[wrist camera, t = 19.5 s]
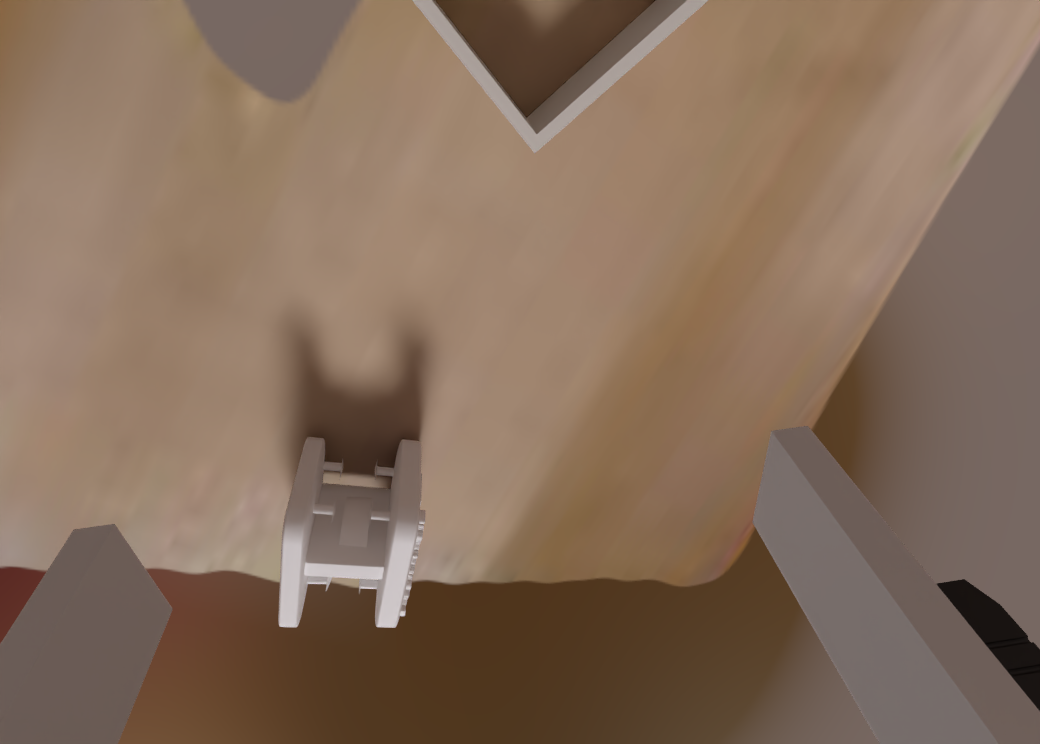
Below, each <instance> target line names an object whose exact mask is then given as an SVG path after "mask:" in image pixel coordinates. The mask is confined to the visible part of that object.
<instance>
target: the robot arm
mask: <svg viewBox="0 0 1040 744" xmlns="http://www.w3.org/2000/svg"><path fill="white" fill-rule="evenodd" d="M753 524H754V526H755V527H756V529H757V531H758V533H759V534H760V536H761V538H762V540H763V541H764V543H765V545H766V547H767V548H768V550H769V552H770V553H771V555H772V557H773V559H774V561H775V562H776V564H777V566H778V568H779V569H780V571H781V573H782V574H783V576H784V578H785V580H786V581H787V583H788V585H789V587H790V588H791V590H792V592H793V593H794V595H795V597H796V599H797V601H798V602H799V604H800V606H801V608H802V609H803V611H804V613H805V615H806V616H807V618H808V620H809V622H810V623H811V625H812V627H813V629H814V630H815V632H816V634H817V635H818V637H819V639H820V641H821V642H822V644H823V646H824V648H825V650H826V651H827V653H828V655H829V656H830V658H831V660H832V662H833V664H834V665H835V667H836V669H837V670H838V672H839V674H840V676H841V677H842V679H843V681H844V683H845V684H846V686H847V688H848V690H849V691H850V693H851V695H852V697H853V698H854V700H855V702H856V703H857V705H858V707H859V709H860V711H861V712H862V714H863V716H864V718H865V719H866V721H867V723H868V724H869V726H870V728H871V730H872V732H873V733H874V735H875V737H876V738H877V740H878V742H879V744H1040V649H1039V648H1038V647H1037V646H1036V645H1035V644H1034V643H1031V642H1030V641H1029V640H1028V636H1027V635H1026V633H1025V632H1024V631H1023V630H1022V629H1021V628H1020V627H1019V625H1018V624H1017V623H1016V622H1015V621H1014V620H1013V619H1012V618H1011V617H1010V615H1008V613H1007V612H1006V611H1005V610H1004V609H1003V608H1002V606H1001V605H1000V604H998V603H997V602H996V601H994V600H993V599H991V598H990V597H989V596H987V595H985V594H984V593H983V592H981V591H980V590H979V589H977V588H976V587H974V586H973V585H971V584H970V583H969V582H967V581H966V580H964V579H963V580H957V581H950V582H944V583H938V584H936V583H935V582H934V581H933V579H932V578H931V577H930V576H929V575H928V573H927V572H926V571H925V570H924V568H923V567H922V566H921V565H920V563H919V562H918V561H917V560H916V559H915V557H914V556H913V555H912V554H911V552H910V551H909V550H908V549H907V548H906V546H905V545H904V544H903V543H902V541H901V540H900V539H899V538H898V537H897V535H896V534H895V533H894V532H893V530H892V529H891V528H890V527H889V525H888V524H887V523H886V522H885V520H884V519H883V518H882V517H881V516H880V514H879V513H878V512H877V511H876V509H875V508H874V507H873V506H872V504H871V503H870V502H869V501H868V500H867V498H866V497H865V496H864V495H863V494H862V492H861V491H860V490H859V488H858V487H857V486H856V485H855V484H854V482H853V481H852V480H851V479H850V477H849V476H848V475H847V474H846V473H845V472H844V470H843V469H842V468H841V466H840V465H839V464H838V463H837V461H836V460H835V459H834V458H833V457H832V455H831V454H830V453H829V452H828V450H827V449H826V448H825V447H824V446H823V444H822V443H821V442H820V441H819V440H818V438H817V437H816V436H815V434H814V433H813V432H812V431H811V429H810V428H809V427H808V426H803V427H796V428H789V429H782V430H775V431H771V436H770V441H769V445H768V450H767V455H766V460H765V465H764V470H763V474H762V479H761V484H760V489H759V494H758V498H757V503H756V508H755V513H754V518H753ZM171 612H172V607H171V606H170V604H169V603H168V601H167V600H166V598H165V597H164V596H163V594H162V593H161V591H160V590H159V588H158V587H157V585H156V584H155V582H154V581H153V579H152V578H151V577H150V575H149V574H148V572H147V571H146V569H145V568H144V566H143V565H142V563H141V562H140V560H139V559H138V558H137V556H136V555H135V553H134V552H133V550H132V549H131V547H130V546H129V544H128V543H127V541H126V540H125V539H124V537H123V536H122V534H121V533H120V531H119V530H118V528H117V527H116V525H115V524H111V525H103V526H96V527H89V528H82V529H75V530H73V532H72V533H71V535H70V536H69V538H68V539H67V541H66V543H65V544H64V546H63V547H62V549H61V550H60V552H59V553H58V555H57V557H56V558H55V560H54V561H53V563H52V564H51V566H50V568H49V569H48V571H47V572H46V574H45V575H44V577H43V579H42V580H41V582H40V583H39V585H38V586H37V588H36V589H35V591H34V592H33V594H32V596H31V597H30V599H29V601H28V602H27V604H26V605H25V607H24V608H23V610H22V611H21V613H20V615H19V616H18V617H17V619H16V621H15V622H14V624H13V625H12V627H11V628H10V630H9V631H8V633H7V635H6V637H5V638H4V639H3V641H2V642H1V644H0V744H118V742H119V739H120V737H121V734H122V732H123V729H124V727H125V725H126V722H127V720H128V717H129V715H130V712H131V710H132V707H133V705H134V702H135V700H136V698H137V695H138V693H139V690H140V688H141V685H142V683H143V680H144V678H145V675H146V673H147V671H148V668H149V666H150V663H151V661H152V658H153V656H154V653H155V651H156V648H157V646H158V644H159V641H160V639H161V636H162V634H163V631H164V629H165V627H166V624H167V622H168V619H169V617H170V614H171Z"/></svg>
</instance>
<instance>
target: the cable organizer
mask: <svg viewBox="0 0 1040 744" xmlns="http://www.w3.org/2000/svg"><path fill="white" fill-rule="evenodd" d="M324 460H325V440H324V438H316V437H307V439H306V441H305V443H304V447H303V451H302V454H301V458H300V462H299V465H298V469H297V473H296V476H295V480H294V484H293V487H292V491H291V495H290V498H289V502H288V506H287V509H286V513H285V518H284V524H283V531H282V549H281V571H280V593H279V617H278V618H279V626H280V627H297V626H298V624H299V621H300V618H301V614H302V610H303V605H304V600H305V595H306V590H307V585H308V584H327V587H326V590H327V588H328V586H329V584H330V581H331V579H332V577H340V578H359V579H360V580H359V592H360V588H367V589H377V598H376V610H375V623H376V626H377V627H393V628H394V627H396V625H397V623H398V620H399V617H400V616H405V612H406V610H405V606H406V604H407V599H408V597H409V590H410V589H411V583H412V577H413V575H412V574H413V573H414V568H415V564H416V559H417V557H418V550H419V544H420V542H421V541H422V535H423V528H424V525H423V524H425V510H420V505H421V488H422V474H421V442H420V441H414V440H405V439H402V440H401V442H400V444H399V447H398V451H397V455H396V460H395V466H394V468H389V467H378V466H377V463H378V460H377V463H376V467H375V478H376V475H382V476H393V477H392V483H391V489H385V488H374V487H363V486H351V485H340V484H328V483H322V482H323V471H324V470H328V471H339V472H340V477H341V474H342V471H343V460H342V463H336V462H326V461H324ZM339 480H340V479H339ZM371 579H378V580H371Z"/></svg>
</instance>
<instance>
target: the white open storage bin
mask: <svg viewBox="0 0 1040 744" xmlns="http://www.w3.org/2000/svg"><path fill="white" fill-rule="evenodd" d="M707 1H708V0H656V1H654V2H653V3H652V4H651V5H650V6H649V7H648V8H647V9H646V10H645V11H643V12H642V13H641V14H640V15H639V16H638V17H637V18H636V19H635V20H634V21H632V22H631V23H630V24H629V25H628V26H627V27H626V28H625V29H624V30H623V31H621V32H620V33H619V34H618V35H617V36H616V37H615V38H614V39H613V40H612V41H610V42H609V43H608V44H607V45H606V46H605V47H604V48H603V49H602V50H601V51H599V52H598V53H597V54H596V55H595V56H594V57H593V58H592V59H591V60H590V61H588V62H587V63H586V64H585V65H584V66H583V67H582V68H581V69H580V70H579V71H577V72H576V73H575V74H574V75H573V76H572V77H571V78H570V79H569V80H568V81H566V82H565V83H564V84H563V85H562V86H561V87H560V88H559V89H558V90H557V91H555V92H554V93H553V94H552V95H551V96H550V97H549V98H548V99H547V100H546V101H544V102H543V103H542V104H541V105H540V106H539V107H538V108H537V109H536V110H534V111H533V112H532V113H531V114H530V115H529V116H528V117H527V118H526V117H525V115H524V114H523V113H522V111H521V110H520V109H519V108H518V106H517V105H516V104H515V102H514V101H513V100H512V99H511V97H510V96H509V95H508V93H507V92H506V91H505V90H504V88H503V87H502V86H501V84H500V83H499V82H498V81H497V79H496V78H495V77H494V75H493V74H492V73H491V72H490V70H489V69H488V68H487V66H486V65H485V64H484V63H483V61H482V60H481V59H480V57H479V56H478V55H477V54H476V52H475V51H474V50H473V48H472V47H471V46H470V45H469V43H468V42H467V41H466V39H465V38H464V37H463V36H462V34H461V33H460V32H459V30H458V29H457V28H456V27H455V25H454V24H453V23H452V21H451V20H450V19H449V18H448V16H447V15H446V14H445V12H444V11H443V10H442V9H441V7H440V6H439V5H438V3H437V2H436V1H435V0H413V2H414V3H415V4H416V5H417V7H418V8H419V9H420V11H421V12H422V13H423V14H424V16H425V17H426V18H427V19H428V21H429V22H430V23H431V24H432V26H433V27H434V28H435V29H436V31H437V32H438V33H439V34H440V36H441V37H442V38H443V39H444V41H445V42H446V43H447V44H448V46H449V47H450V48H451V49H452V51H453V52H454V53H455V54H456V56H457V57H458V58H459V59H460V61H461V62H462V63H463V64H464V66H465V67H466V68H467V69H468V71H469V72H470V73H471V74H472V76H473V77H474V78H475V79H476V81H477V82H478V83H479V84H480V86H481V87H482V88H483V89H484V91H485V92H486V93H487V94H488V96H489V97H490V98H491V99H492V101H493V102H494V103H495V104H496V106H497V107H498V108H499V109H500V111H501V112H502V113H503V114H504V116H505V117H506V118H507V119H508V121H509V122H510V123H511V124H512V126H513V127H514V128H515V129H516V131H517V132H518V133H519V134H520V136H521V137H522V138H523V139H524V141H525V142H526V143H527V144H528V146H529V147H530V148H531V149H532V151H533V152H534V153H536V152H537V151H538V150H539V149H540V148H542V147H543V146H544V145H545V144H546V143H547V142H548V141H549V140H551V139H552V138H553V137H554V136H555V135H556V134H557V133H559V132H560V131H561V130H562V129H563V128H564V127H565V126H566V125H568V124H569V123H570V122H571V121H572V120H573V119H574V118H576V117H577V116H578V115H579V114H580V113H581V112H582V111H584V110H585V109H586V108H587V107H588V106H589V105H590V104H591V103H593V102H594V101H595V100H596V99H597V98H598V97H599V96H601V95H602V94H603V93H604V92H605V91H606V90H607V89H608V88H610V87H611V86H612V85H613V84H614V83H615V82H616V81H618V80H619V79H620V78H621V77H622V76H623V75H624V74H625V73H627V72H628V71H629V70H630V69H631V68H632V67H633V66H635V65H636V64H637V63H638V62H639V61H640V60H641V59H642V58H644V57H645V56H646V55H647V54H648V53H649V52H650V51H652V50H653V49H654V48H655V47H656V46H657V45H658V44H659V43H661V42H662V41H663V40H664V39H665V38H666V37H667V36H669V35H670V34H671V33H672V32H673V31H674V30H675V29H676V28H678V27H679V26H680V25H681V24H682V23H683V22H684V21H686V20H687V19H688V18H689V17H690V16H691V15H692V14H693V13H695V12H696V11H697V10H698V9H699V8H700V7H701V6H703V5H704V4H705V3H706V2H707Z"/></svg>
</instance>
